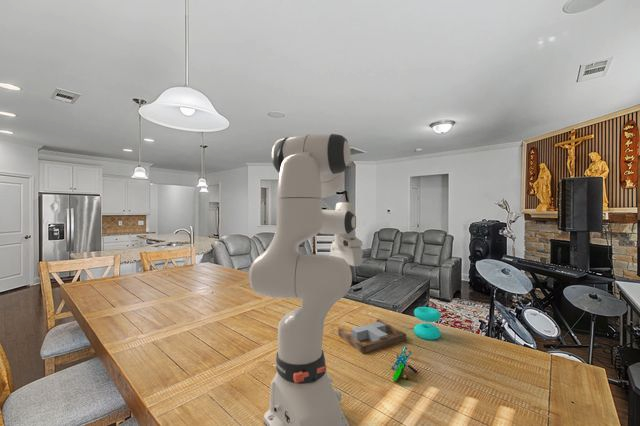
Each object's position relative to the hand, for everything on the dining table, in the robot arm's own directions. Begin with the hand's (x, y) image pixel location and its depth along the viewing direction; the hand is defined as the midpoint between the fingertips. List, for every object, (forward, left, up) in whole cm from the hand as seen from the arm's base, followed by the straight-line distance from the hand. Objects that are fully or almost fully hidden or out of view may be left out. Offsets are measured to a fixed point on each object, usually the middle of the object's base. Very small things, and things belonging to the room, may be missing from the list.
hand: (344, 273), depth 118 cm
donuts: (-21, -25, -23) cm, 40 cm away
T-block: (-14, -4, -23) cm, 27 cm away
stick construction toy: (-37, +2, -23) cm, 44 cm away
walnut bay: (-12, -4, -23) cm, 26 cm away
